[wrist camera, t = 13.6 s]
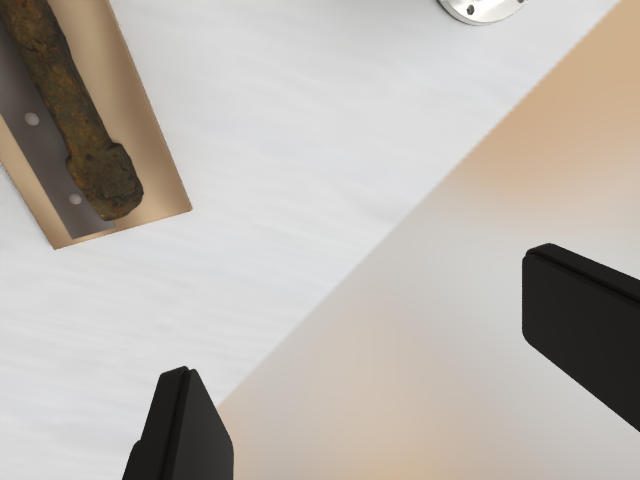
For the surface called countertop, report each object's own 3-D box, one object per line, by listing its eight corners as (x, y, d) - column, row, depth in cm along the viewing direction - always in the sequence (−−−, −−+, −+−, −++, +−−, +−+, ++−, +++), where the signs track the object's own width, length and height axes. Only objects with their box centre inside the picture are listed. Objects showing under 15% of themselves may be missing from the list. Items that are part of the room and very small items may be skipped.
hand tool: (-54, -47, 21) (29, -57, 22) (-15, -23, 25) (55, -32, 26) (88, 232, 28) (146, 216, 29) (102, 219, 32) (153, 205, 33)
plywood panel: (84, -60, 26) (76, -69, 25) (192, 208, 35) (190, 211, 33) (-102, -25, 25) (-120, -33, 23) (59, 246, 33) (52, 251, 32)
